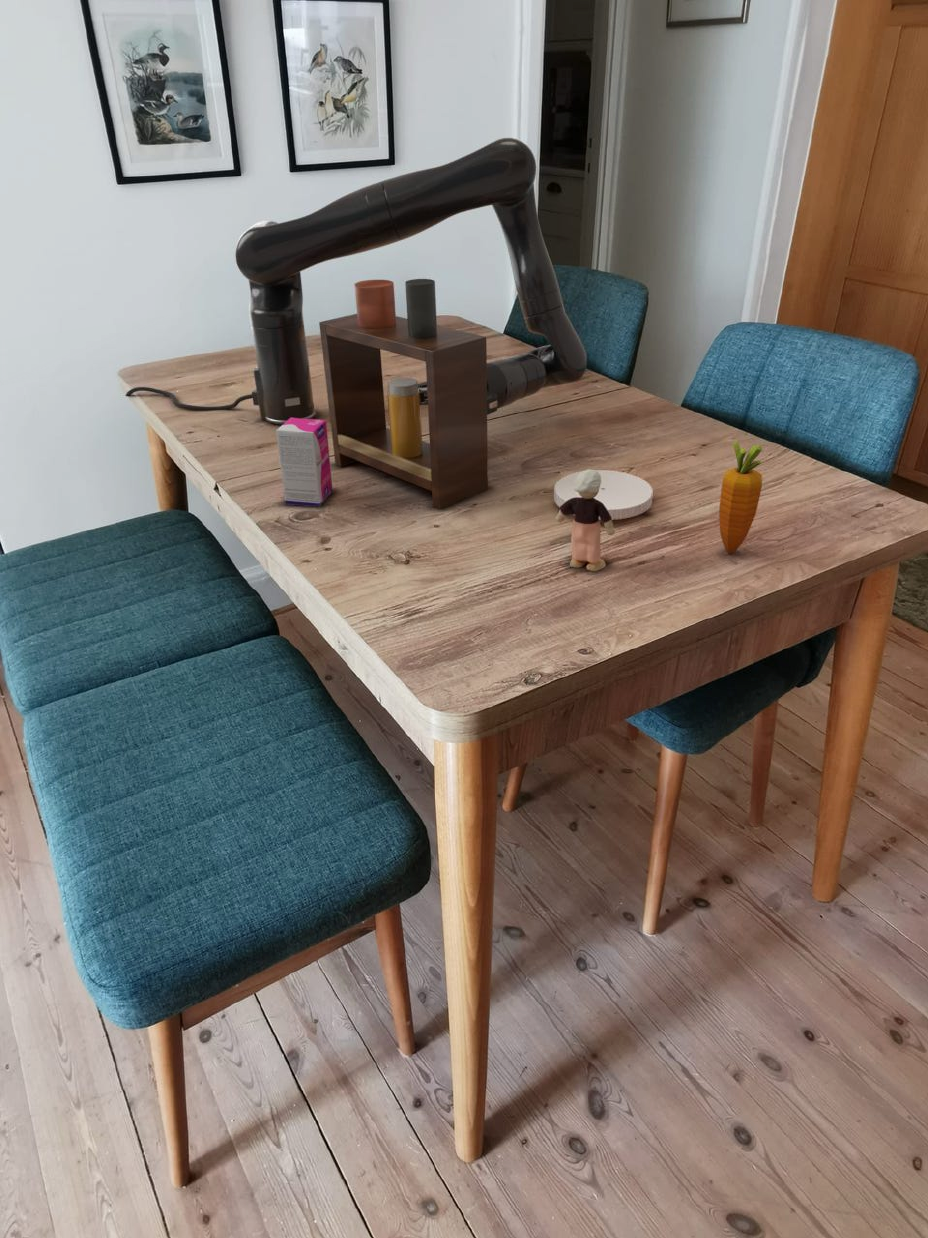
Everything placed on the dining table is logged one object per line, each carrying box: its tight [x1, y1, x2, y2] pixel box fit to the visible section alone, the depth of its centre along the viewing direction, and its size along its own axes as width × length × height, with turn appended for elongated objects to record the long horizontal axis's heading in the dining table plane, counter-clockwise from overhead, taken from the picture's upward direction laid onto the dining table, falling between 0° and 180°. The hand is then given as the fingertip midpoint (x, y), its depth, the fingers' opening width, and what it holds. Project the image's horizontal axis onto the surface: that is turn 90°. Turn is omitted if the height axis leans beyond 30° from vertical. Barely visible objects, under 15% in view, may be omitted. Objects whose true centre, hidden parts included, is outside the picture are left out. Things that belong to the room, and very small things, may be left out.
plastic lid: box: [553, 469, 654, 521], centre depth 120 cm, size 14×14×2 cm
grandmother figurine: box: [555, 468, 616, 572], centre depth 103 cm, size 8×4×13 cm, turn 71°
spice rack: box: [318, 278, 489, 510], centre depth 123 cm, size 25×10×30 cm, turn 44°
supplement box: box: [275, 418, 333, 507], centre depth 122 cm, size 6×6×12 cm
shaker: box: [387, 377, 423, 458], centre depth 126 cm, size 5×5×11 cm
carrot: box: [718, 441, 763, 555], centre depth 103 cm, size 5×5×15 cm
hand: (419, 409), depth 128 cm, fingers open, 8 cm apart
